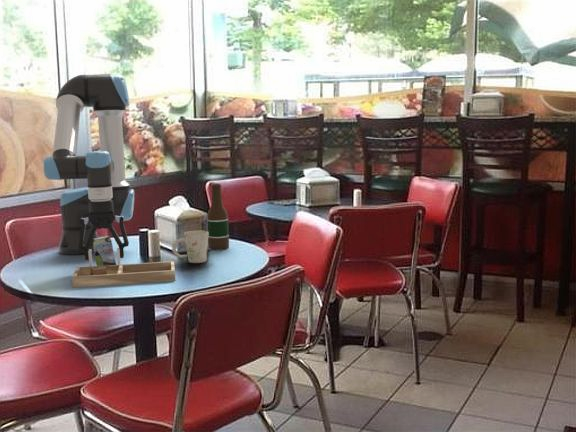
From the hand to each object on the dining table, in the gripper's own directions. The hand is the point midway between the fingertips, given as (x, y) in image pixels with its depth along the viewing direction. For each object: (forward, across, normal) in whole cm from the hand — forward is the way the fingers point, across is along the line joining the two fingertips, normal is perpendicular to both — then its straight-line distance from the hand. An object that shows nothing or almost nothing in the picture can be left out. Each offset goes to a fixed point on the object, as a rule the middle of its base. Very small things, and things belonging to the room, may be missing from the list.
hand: (105, 268), depth 231 cm
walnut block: (0, -1, -14) cm, 14 cm away
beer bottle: (+2, +39, +28) cm, 48 cm away
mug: (+2, +28, +8) cm, 29 cm away
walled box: (+1, +7, -14) cm, 15 cm away
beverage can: (+2, 0, 0) cm, 2 cm away
